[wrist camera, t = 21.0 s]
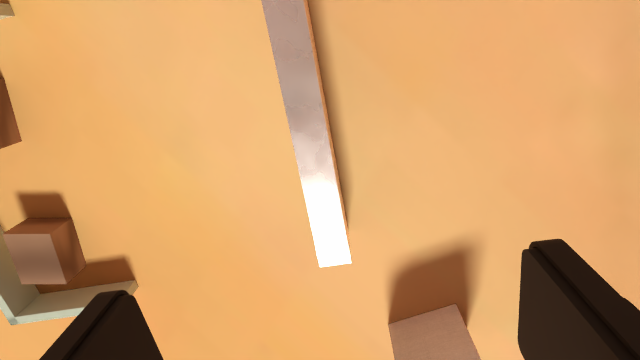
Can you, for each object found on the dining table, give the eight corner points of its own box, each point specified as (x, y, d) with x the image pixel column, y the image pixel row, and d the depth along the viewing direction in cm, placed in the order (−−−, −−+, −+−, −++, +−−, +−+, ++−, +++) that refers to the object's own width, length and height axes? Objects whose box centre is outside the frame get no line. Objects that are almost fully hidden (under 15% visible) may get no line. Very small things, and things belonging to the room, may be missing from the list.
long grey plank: (269, -15, 26) (255, -25, 21) (303, -22, 25) (297, -34, 21) (321, 233, 33) (319, 267, 28) (348, 229, 33) (350, 262, 28)
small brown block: (29, 217, 33) (2, 234, 30) (73, 216, 33) (49, 233, 30) (46, 264, 35) (21, 284, 32) (87, 263, 35) (66, 284, 32)
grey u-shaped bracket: (-109, 34, 28) (-175, 35, 25) (18, 4, 27) (-31, 0, 23) (42, 295, 37) (11, 325, 34) (142, 281, 36) (121, 309, 33)
